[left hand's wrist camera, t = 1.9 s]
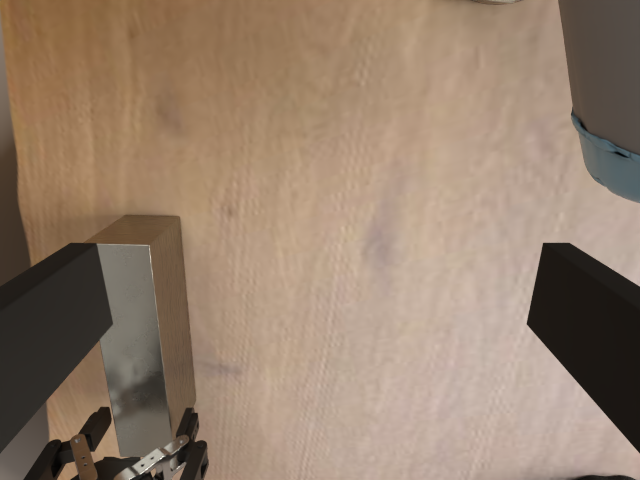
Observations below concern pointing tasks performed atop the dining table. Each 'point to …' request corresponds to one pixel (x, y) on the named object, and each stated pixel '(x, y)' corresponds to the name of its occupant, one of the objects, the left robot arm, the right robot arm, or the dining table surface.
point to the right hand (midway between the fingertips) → (149, 413)
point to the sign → (606, 478)
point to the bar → (146, 331)
